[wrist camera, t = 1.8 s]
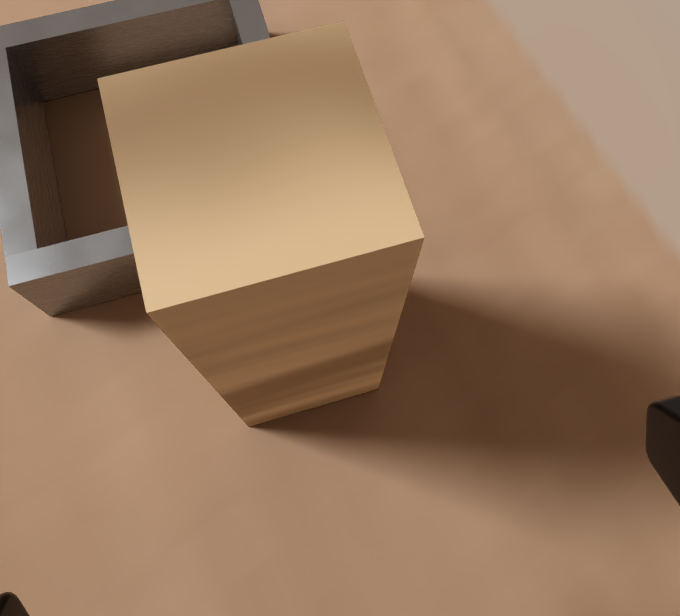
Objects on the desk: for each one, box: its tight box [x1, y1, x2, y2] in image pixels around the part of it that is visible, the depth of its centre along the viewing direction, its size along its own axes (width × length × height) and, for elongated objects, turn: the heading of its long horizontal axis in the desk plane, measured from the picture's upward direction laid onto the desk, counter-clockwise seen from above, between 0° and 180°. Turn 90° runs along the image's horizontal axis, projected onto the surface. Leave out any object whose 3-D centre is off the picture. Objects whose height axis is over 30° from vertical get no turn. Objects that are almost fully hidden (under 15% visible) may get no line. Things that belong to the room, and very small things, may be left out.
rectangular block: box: [97, 21, 424, 427], centre depth 16 cm, size 4×4×12 cm
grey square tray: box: [0, 0, 270, 316], centre depth 23 cm, size 10×10×3 cm
